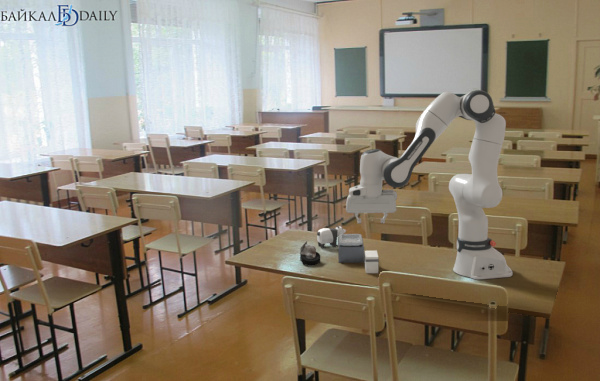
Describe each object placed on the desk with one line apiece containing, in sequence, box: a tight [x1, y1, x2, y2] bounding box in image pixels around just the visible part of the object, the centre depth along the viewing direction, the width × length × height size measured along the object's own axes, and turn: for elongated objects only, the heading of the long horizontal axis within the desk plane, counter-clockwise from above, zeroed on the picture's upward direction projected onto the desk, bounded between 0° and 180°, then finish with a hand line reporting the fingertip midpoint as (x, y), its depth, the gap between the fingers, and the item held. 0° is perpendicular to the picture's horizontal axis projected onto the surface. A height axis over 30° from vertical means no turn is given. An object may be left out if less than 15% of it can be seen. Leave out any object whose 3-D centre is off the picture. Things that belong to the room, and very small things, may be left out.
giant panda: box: [316, 224, 347, 249], centre depth 255 cm, size 15×6×10 cm, turn 110°
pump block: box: [364, 250, 380, 274], centre depth 223 cm, size 5×8×7 cm, turn 177°
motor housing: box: [337, 233, 365, 264], centre depth 238 cm, size 11×15×9 cm
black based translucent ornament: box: [299, 240, 321, 267], centre depth 235 cm, size 7×11×10 cm
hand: (370, 223), depth 219 cm, fingers open, 8 cm apart
